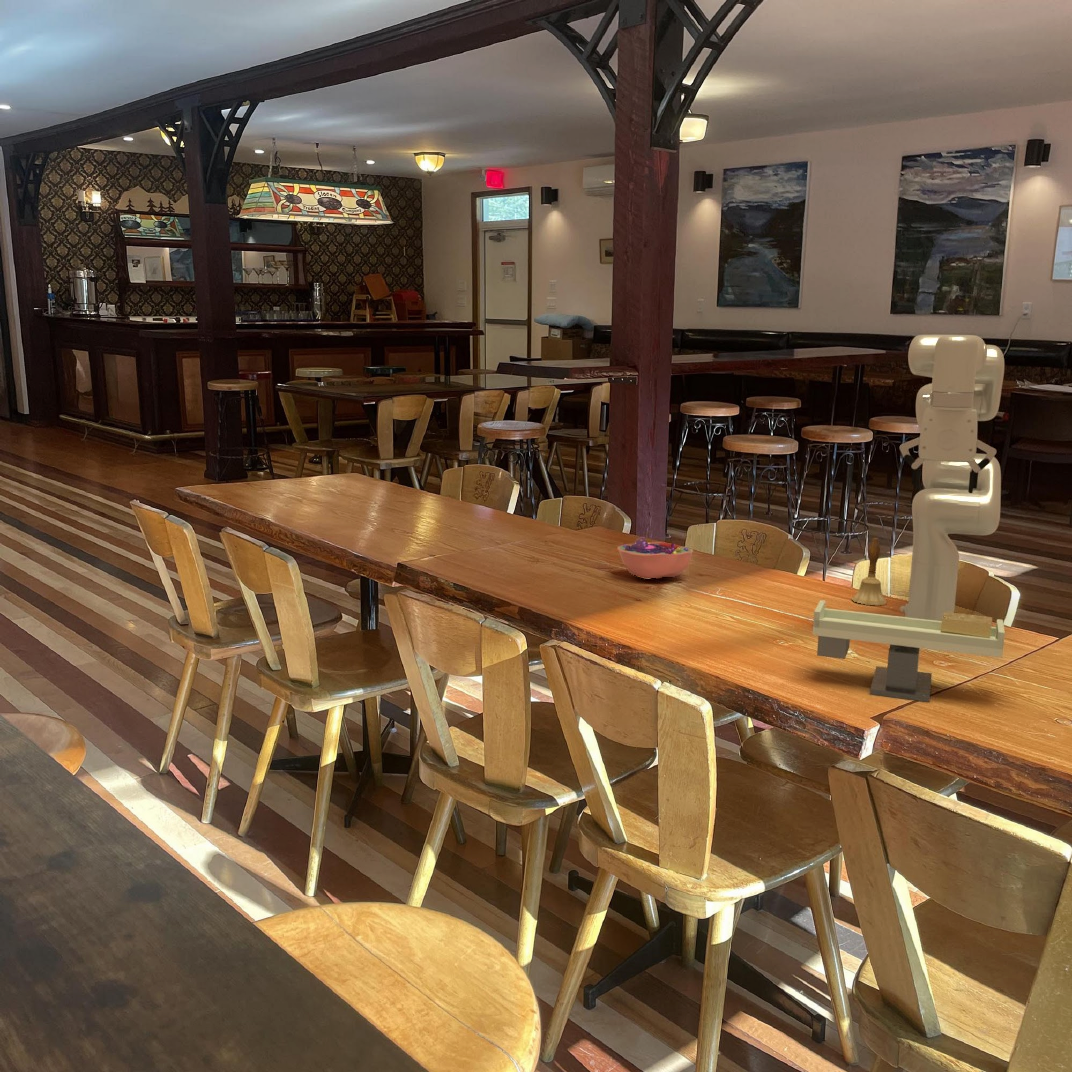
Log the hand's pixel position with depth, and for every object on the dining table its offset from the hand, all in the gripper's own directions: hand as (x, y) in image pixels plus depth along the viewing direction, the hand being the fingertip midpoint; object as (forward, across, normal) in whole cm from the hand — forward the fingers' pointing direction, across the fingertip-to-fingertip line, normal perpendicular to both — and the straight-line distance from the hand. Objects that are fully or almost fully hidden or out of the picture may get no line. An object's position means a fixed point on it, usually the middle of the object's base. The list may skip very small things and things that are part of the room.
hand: (943, 490), depth 195 cm
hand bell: (+35, -15, +44) cm, 57 cm away
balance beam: (+29, -4, -19) cm, 35 cm away
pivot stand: (+34, -4, -19) cm, 39 cm away
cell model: (+35, -69, +44) cm, 89 cm away
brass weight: (+24, +6, -19) cm, 31 cm away
